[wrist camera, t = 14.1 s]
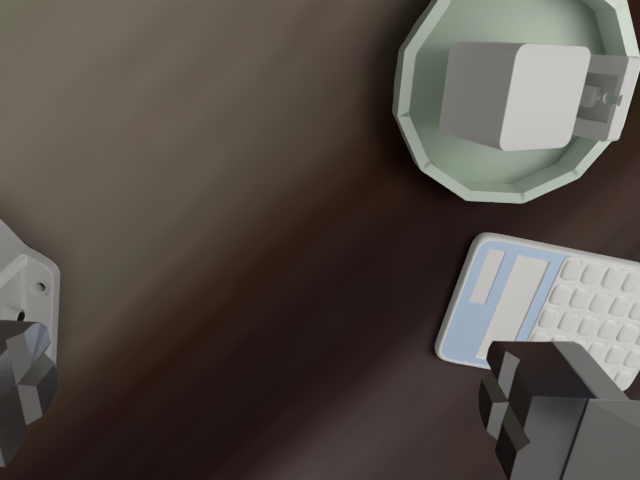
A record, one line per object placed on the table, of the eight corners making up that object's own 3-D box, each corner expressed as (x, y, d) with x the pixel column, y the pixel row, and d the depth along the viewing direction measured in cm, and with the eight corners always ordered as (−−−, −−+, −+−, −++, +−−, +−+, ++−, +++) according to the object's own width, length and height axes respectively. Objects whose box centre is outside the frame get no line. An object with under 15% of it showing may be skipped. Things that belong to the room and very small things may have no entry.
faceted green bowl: (578, 194, 40) (599, 207, 37) (382, 185, 40) (388, 196, 37) (639, -30, 34) (670, -37, 31) (407, -44, 33) (416, -52, 30)
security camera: (555, 46, 36) (449, 40, 33) (644, 49, 31) (529, 43, 27) (536, 130, 39) (437, 134, 35) (616, 147, 33) (507, 155, 29)
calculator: (617, 384, 49) (628, 397, 47) (429, 350, 47) (433, 362, 45) (682, 269, 44) (697, 279, 42) (474, 226, 42) (481, 234, 40)
